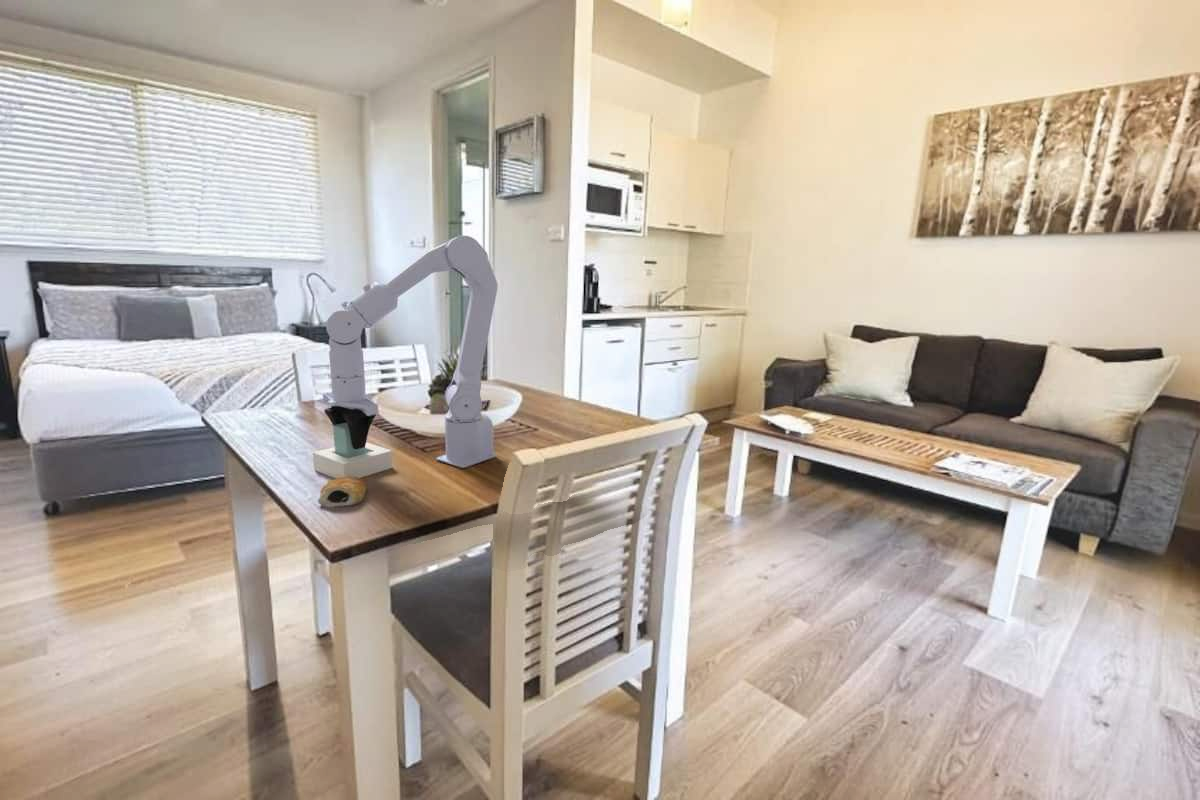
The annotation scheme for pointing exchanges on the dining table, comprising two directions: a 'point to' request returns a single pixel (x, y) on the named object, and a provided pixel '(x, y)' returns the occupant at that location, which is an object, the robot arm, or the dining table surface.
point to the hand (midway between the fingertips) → (352, 445)
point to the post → (345, 442)
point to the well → (353, 462)
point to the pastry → (343, 492)
